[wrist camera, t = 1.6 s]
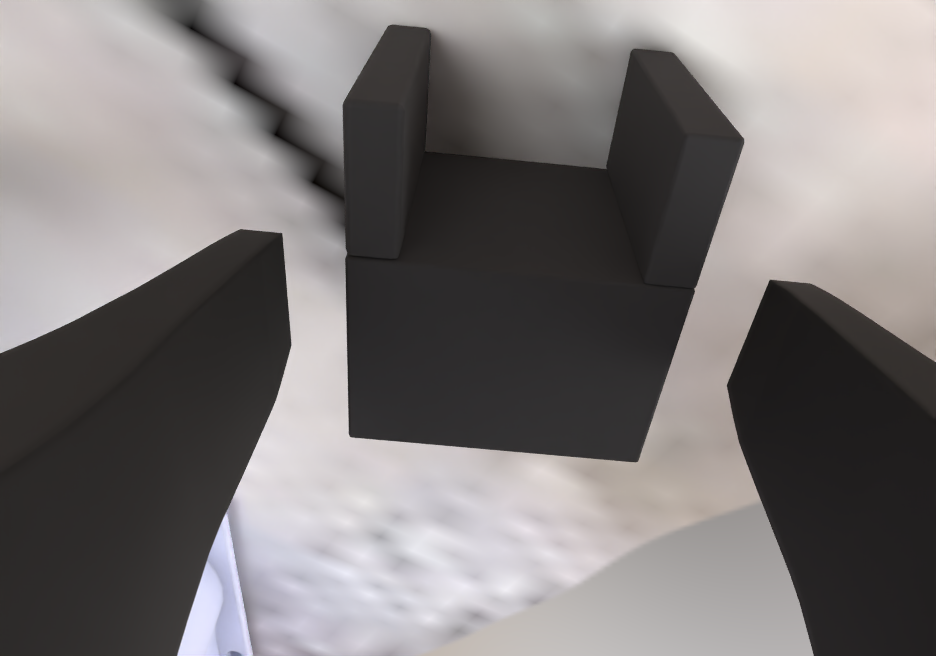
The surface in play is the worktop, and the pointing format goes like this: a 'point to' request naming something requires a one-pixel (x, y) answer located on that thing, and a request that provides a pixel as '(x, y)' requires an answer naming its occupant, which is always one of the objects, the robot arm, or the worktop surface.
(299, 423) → the worktop surface
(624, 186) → the pad
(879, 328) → the robot arm
